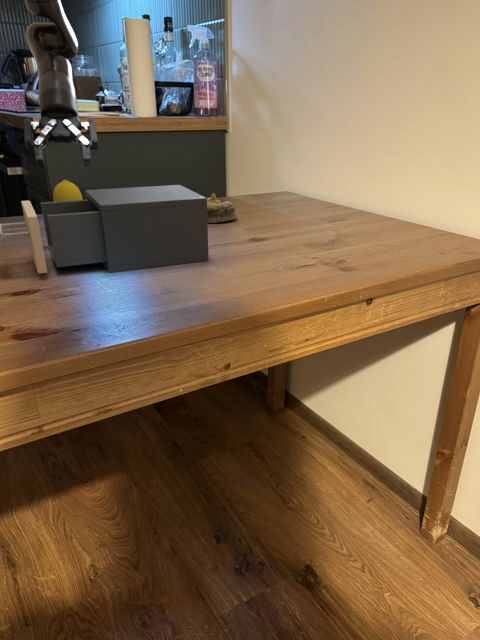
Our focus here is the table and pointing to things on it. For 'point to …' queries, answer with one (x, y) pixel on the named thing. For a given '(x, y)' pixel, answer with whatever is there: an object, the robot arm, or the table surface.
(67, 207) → the drawer
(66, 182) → the lemon
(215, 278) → the table surface
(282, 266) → the table surface
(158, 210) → the cabinet
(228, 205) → the cake
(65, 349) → the table surface
